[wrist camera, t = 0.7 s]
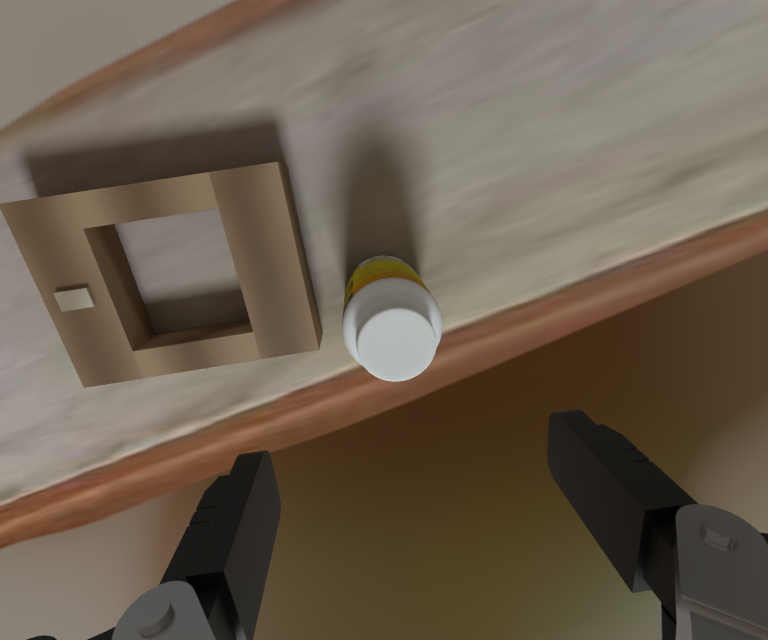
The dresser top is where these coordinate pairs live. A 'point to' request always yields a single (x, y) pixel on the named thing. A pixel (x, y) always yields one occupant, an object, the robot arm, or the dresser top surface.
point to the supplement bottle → (390, 319)
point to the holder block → (120, 293)
